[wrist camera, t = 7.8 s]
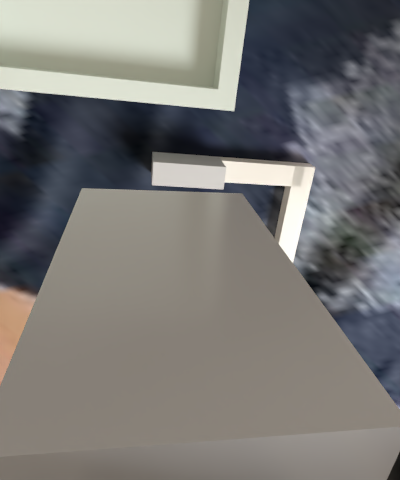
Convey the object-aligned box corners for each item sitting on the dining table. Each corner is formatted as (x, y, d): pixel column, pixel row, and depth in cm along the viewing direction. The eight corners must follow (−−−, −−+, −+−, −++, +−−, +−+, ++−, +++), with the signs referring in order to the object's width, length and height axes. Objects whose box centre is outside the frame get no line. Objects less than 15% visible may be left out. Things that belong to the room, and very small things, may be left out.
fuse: (241, 193, 11) (411, 425, 4) (216, 378, 15) (291, 688, 8) (82, 188, 11) (-31, 459, 4) (92, 384, 14) (43, 734, 7)
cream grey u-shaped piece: (309, 163, 30) (325, 174, 28) (276, 306, 36) (287, 326, 33) (152, 151, 28) (153, 161, 26) (144, 304, 34) (144, 326, 31)
